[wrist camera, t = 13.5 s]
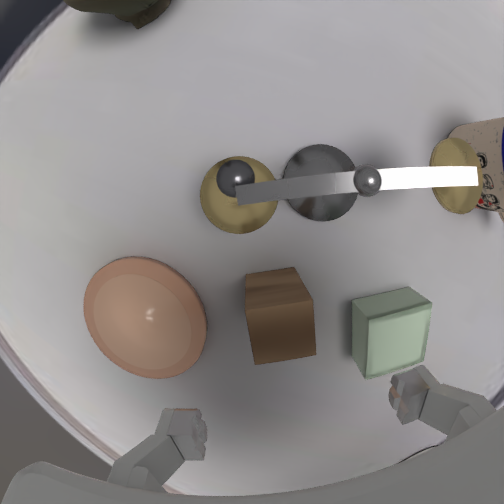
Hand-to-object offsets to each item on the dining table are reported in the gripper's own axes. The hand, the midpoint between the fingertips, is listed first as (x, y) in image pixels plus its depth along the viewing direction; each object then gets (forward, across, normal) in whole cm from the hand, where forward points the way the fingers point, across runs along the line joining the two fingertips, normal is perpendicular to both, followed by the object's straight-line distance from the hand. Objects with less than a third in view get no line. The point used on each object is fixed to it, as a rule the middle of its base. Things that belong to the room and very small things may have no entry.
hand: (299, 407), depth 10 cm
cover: (+14, +10, -5) cm, 18 cm away
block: (+14, 0, 0) cm, 14 cm away
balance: (+14, +5, +8) cm, 17 cm away
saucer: (+14, -12, -1) cm, 18 cm away
